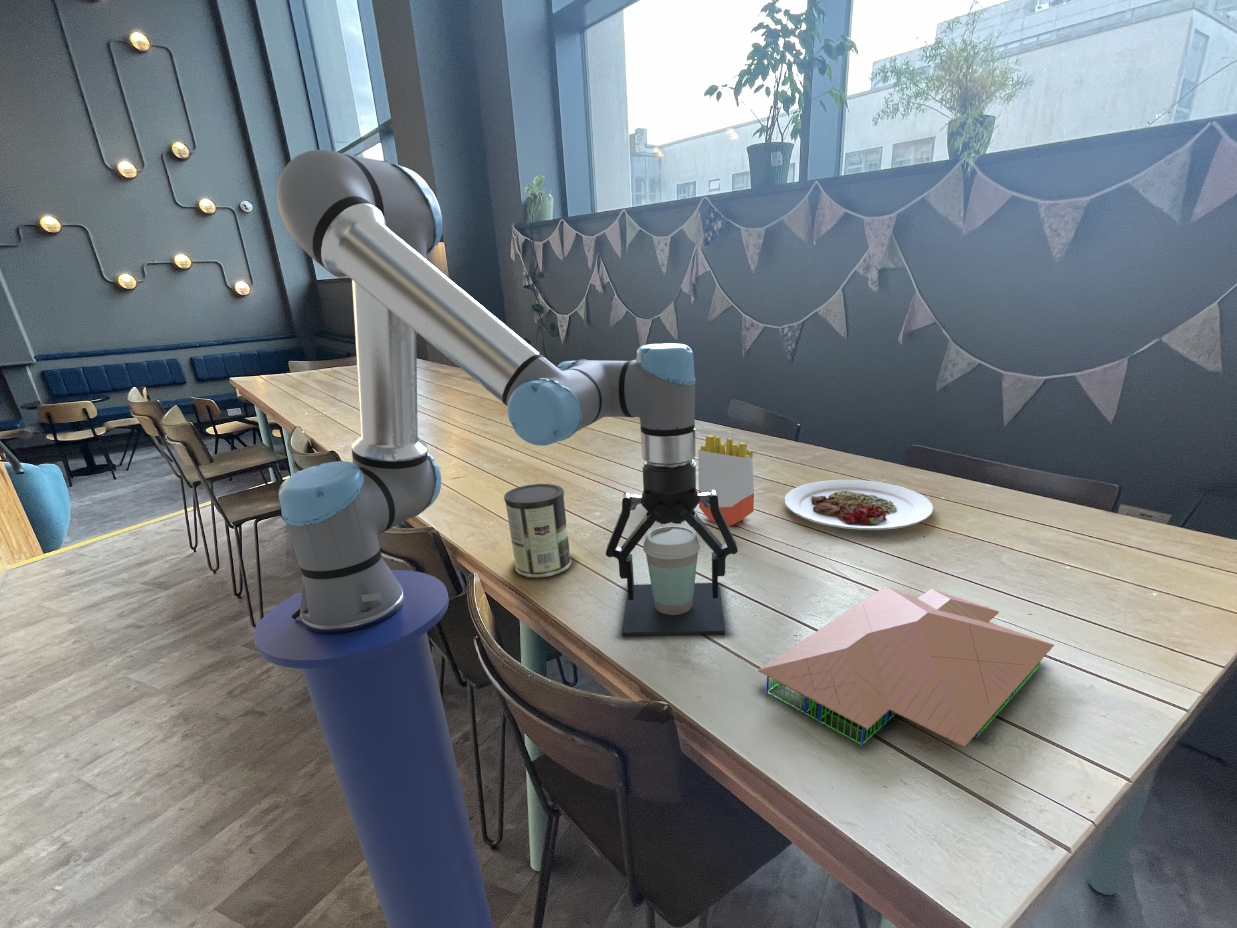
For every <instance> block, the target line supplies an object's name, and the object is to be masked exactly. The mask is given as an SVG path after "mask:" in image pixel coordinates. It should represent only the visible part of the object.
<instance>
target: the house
mask: <svg viewBox="0 0 1237 928" xmlns="http://www.w3.org/2000/svg"><path fill="white" fill-rule="evenodd" d="M999 613H1000V611H999V610H996V609H993V608H990V607H987V606H984V605H980V604H978V603H975V602H972V601H968V600H966V599H962V598H960V597H957V596H954V595H951V594H948V593H945V592H942V591H939V590H936V589H933V588H929V589H928V590H927V591H925V592H924V593H922V594H921V595H919V596H916V595H913V594H909V593H906V592H905V591H904V592H903V591H901V590H898V589H895V588H893V587H890V586H887V585H886V586H885V585H884V586H883V587H882V588H880V589H878V590H877V591H876V592H874V593H872V594H871V595H869V596H868V597H867V598H865V599H863V600H862V601H861V602H859V603H858V604H856V605H855V606H853V607H852V608H850V609H848V610H847V611H845V612H844V613H842V614H841V615H839V616H838V617H836V618H835V619H833V620H832V621H830V622H829V623H826V625H824V626H822V627H821V628H819V629H818V630H816V631H815V632H813V633H812V634H810V635H808V636H807V637H805V638H804V639H802V640H801V641H800V642H798V643H797V644H795V645H794V646H791V648H789V649H788V650H786V651H785V652H783V653H782V654H780V655H779V656H776V658H773V660H771V661H769V662H768V663H766V664H765V665H763V666H762V667H760V668H759V669H757V672H759V673H760V674H763V675H764V676H766V693H768V694H769V695H771V696H773V697H775V698H776V699H779V700H781V702H784V703H786V704H787V705H789V706H791V707H793V708H795V709H797V710H798V711H800V712H801V713H804V714H805V715H807V716H809V717H811V718H812V719H815V720H816V721H818V722H820V723H821V724H823V725H825V726H827V727H828V728H830V729H832V730H834V731H835V732H838V733H839V734H841V735H843V736H845V737H847V738H848V739H849V740H852V741H854V742H855V743H857V744H859V745H861V746H863V745H864V744H865V743H866V742H868V740H869V739H870V738H872V737H873V736H874V735H875V734H876V733H877V732H878V731H879V730H880V729H881V728H882V727H884V726H885V725H886V724H887V723H888V722H889V721H890V720H891V719H893V717H894V716H896V715H898V716H901V717H902V718H905V719H906V720H908V721H911V722H913V723H915V724H916V725H918V726H921V727H922V728H925V729H927V730H929V731H930V732H933V733H935V734H937V735H939V736H941V737H943V738H945V739H947V740H949V741H951V742H954V744H957V745H959V746H961V747H963V748H965V747H967V745H968V744H969V743H970V742H971V740H972V739H973V738H974V737H975V738H977V739H978V737H979V736H981V734H982V733H983V731H984V730H985V729H986V728H987V727H988V726H989V725H990V723H991V722H992V721H993V720H995V718H996V717H997V715H998V714H999V713H1000V712H1001V711H1002V710H1003V708H1005V706H1007V704H1008V703H1009V702H1010V701H1011V699H1012V698H1013V697H1014V696H1015V695H1016V694H1017V693H1018V691H1019V690H1021V688H1022V687H1023V686H1024V685H1025V684H1026V683H1027V681H1028V680H1029V679H1030V678H1031V676H1032V675H1033V674H1035V672H1036V671H1037V670H1038V669H1039V667H1040V665H1041V661H1042V660H1043V659H1044V658H1045V657H1046V656H1047V655H1048V654H1049V652H1050V651H1051V650H1052V649H1053V648H1054V646H1055V644H1053V643H1050V642H1048V641H1045V640H1041V639H1038V638H1036V637H1033V636H1030V635H1027V634H1025V633H1022V632H1018V631H1016V630H1013V629H1010V628H1007V627H1004V626H1003V625H998V624H996V623H993V622H990V621H991V620H992V619H994V618H995V617H996V616H997V615H998V614H999ZM776 682H777V684H776ZM780 684H781V685H783V687H782V686H780ZM776 687H777V695H775V693H774V692H775V691H774V690H775V688H776ZM786 687H787V688H789V691H788V690H787V689H786ZM780 689H781V690H783V695H782V696H783V699H782V698H780ZM771 690H772V692H770V691H771ZM791 690H793V691H794V693H793V692H791ZM786 692H787V693H789V694H788V701H786V700H785V693H786ZM797 693H798V694H800V696H798V695H797ZM791 695H793V696H794V704H791ZM803 696H804V698H802V697H803ZM797 698H798V699H800V700H799V701H800V702H799V708H798V707H797V706H796V701H797V700H796V699H797ZM808 700H809V701H808ZM802 701H804V704H803V705H804V706H803V710H802ZM817 704H818V706H817ZM807 705H808V708H807ZM824 707H825V708H824ZM813 708H814V713H813ZM816 709H817V718H816ZM809 711H810V714H809V713H807V712H809ZM823 712H824V714H823ZM830 712H831V713H830ZM834 713H835V714H838V715H837V716H836V715H834ZM813 715H814V716H813ZM827 715H830V716H831V718H830V725H829V724H827ZM890 715H891V716H890ZM840 716H841V717H843V718H844V720H843V719H841V718H840ZM833 717H834V718H835V719H837V724H836V728H834V727H833ZM822 718H824V722H823V721H821V719H822ZM846 720H849V721H851V722H850V723H848V722H847V721H846ZM839 721H840V722H842V723H843V730H842V731H843V732H841V731H840V730H839ZM853 723H854V724H856V725H857V727H855V726H853ZM846 724H847V725H848V726H850V728H849V729H850V730H849V736H848V735H847V734H845V730H846V729H845V728H846ZM876 725H877V728H876ZM860 727H862V729H860ZM852 728H853V729H855V730H857V731H856V738H855V739H854V738H852V737H851V736H852ZM869 729H870V730H869ZM872 730H873V732H872ZM859 731H860V732H861V737H860V738H861V739H860V741H858V736H859ZM865 732H866V735H865ZM868 735H869V736H868ZM864 738H865V739H864Z"/></svg>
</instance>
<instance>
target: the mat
mask: <svg viewBox="0 0 1237 928" xmlns="http://www.w3.org/2000/svg"><path fill="white" fill-rule="evenodd" d="M621 635H622V637H642V636H643V637H645V636H646V637H647V636H649V637H650V636H693V635H695V636H698V635H699V636H700V635H702V636H703V635H726V625H725V618H724V611H723V603H722V597H721V589H720V583H719V582H718V598H713V595H712V582H695V585H694V594H693V603H692V608H691V609H690V610H689V611H688V612H686V613H683V614H679V615H667V614H663V613H661V612H659V611H658V610H657V609H656V608H655V603H654V597H653V592H652V586H651V583H650V584H647V583H646V584H645V583H644V584H634V598H633V600H628V595H627V597H626V604H625V611H624V617H623V623H622V630H621Z"/></svg>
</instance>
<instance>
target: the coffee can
mask: <svg viewBox="0 0 1237 928" xmlns="http://www.w3.org/2000/svg"><path fill="white" fill-rule="evenodd" d="M564 495H565V490H564V488H563V487H562V486H559V485H557V484H552V483H551V484H550V483H534V484H527V485H522V486H518V487H515V488H513V489H510V490H508V491H506V493H505V494H504V495H503V499H504V502H505V507H506V514H507V519H508V526H509V533H510V540H511V545H512V546H511V547H512V552H513V558H514V559H513V560H514V566H515V572H516V573H517V574H519V575H520V576H523V577H527V578H536V579H537V578H547V577H552V576H557V575H558V574H561V573H563V572H565V571H566V570H568V569H569V568H570V567H571V565H572V558H571V551H570V542H569V533H568V526H567V516H566V507H565V499H564Z"/></svg>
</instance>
